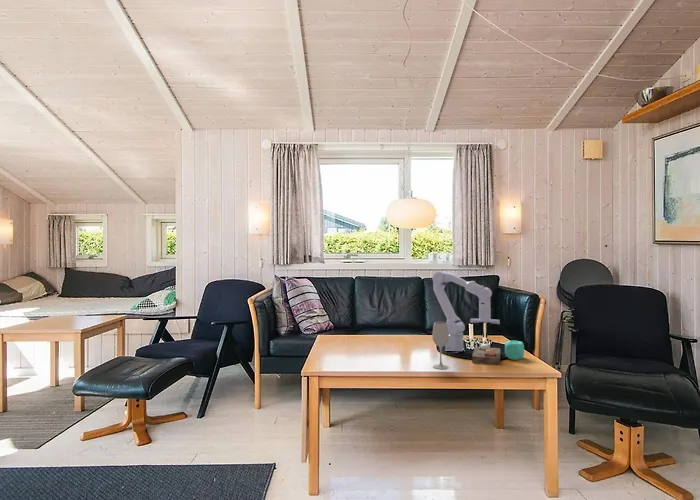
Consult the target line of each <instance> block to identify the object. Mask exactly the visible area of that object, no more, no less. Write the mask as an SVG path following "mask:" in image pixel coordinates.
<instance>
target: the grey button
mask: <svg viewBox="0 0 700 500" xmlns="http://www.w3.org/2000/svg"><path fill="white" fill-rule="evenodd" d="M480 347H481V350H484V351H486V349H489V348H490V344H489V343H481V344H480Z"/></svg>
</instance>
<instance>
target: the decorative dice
mask: <svg viewBox="0 0 700 500" xmlns="http://www.w3.org/2000/svg"><path fill="white" fill-rule="evenodd" d="M524 356H525V345H524V343H523V341H519V340H507V341H506V342H505V344H504V357H508V358H507V359H509V360H512V361H513V360H514V361H515V360H516V361H520V360H523V358H524Z"/></svg>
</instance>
